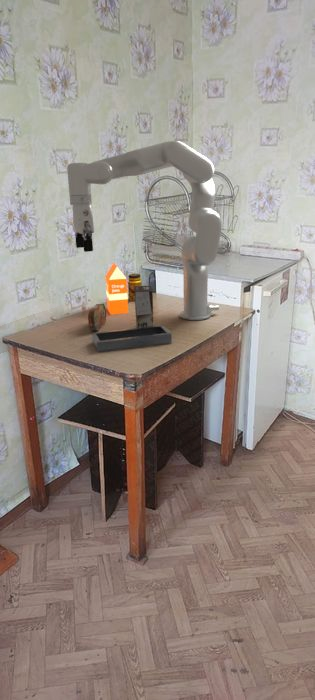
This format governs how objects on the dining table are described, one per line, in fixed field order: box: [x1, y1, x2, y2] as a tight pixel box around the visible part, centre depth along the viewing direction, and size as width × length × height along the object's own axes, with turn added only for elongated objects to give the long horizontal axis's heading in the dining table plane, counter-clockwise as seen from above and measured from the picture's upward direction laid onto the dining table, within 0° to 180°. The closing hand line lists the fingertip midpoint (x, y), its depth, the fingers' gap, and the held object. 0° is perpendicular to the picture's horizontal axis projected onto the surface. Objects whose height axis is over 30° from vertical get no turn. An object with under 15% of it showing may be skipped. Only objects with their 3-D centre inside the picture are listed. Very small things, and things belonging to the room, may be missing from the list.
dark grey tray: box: [91, 324, 173, 353], centre depth 181 cm, size 26×10×4 cm, turn 107°
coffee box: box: [134, 285, 154, 328], centre depth 192 cm, size 9×6×16 cm
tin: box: [87, 303, 107, 332], centre depth 198 cm, size 15×3×8 cm, turn 168°
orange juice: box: [105, 262, 129, 315], centre depth 216 cm, size 8×9×20 cm
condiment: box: [127, 273, 143, 304], centre depth 233 cm, size 7×8×12 cm
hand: (84, 249), depth 187 cm, fingers open, 9 cm apart
